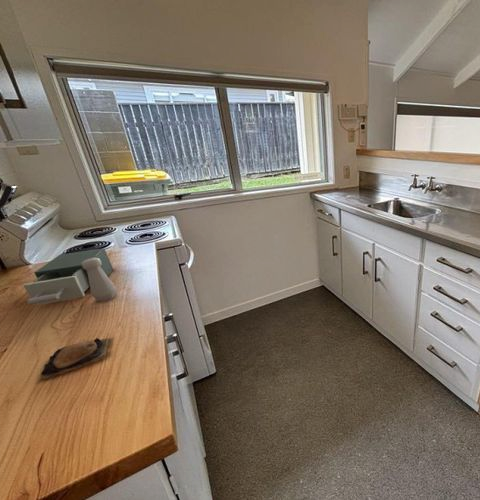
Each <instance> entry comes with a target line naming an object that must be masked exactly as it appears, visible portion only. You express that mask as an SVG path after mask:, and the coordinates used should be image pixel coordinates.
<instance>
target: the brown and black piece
mask: <svg viewBox="0 0 480 500" xmlns="http://www.w3.org/2000/svg"><path fill="white" fill-rule="evenodd" d="M108 345H109V338H102V339H100V338H99V337H96V338H94V340H93V339H90V340H89V339H88V340H83V341H78V342H75V343H72V344H70V345H66V346H63V347H61V348H58V349H57V350H55V351H54V352H53V354H52V355H51V356H49V360H48V362H47V363H46V364H44V367H43V370H42V371H41V372H40V375H41V377H40V378H41V380H42V381H43V380H47V379H50V378H54V377H56V376H59V375H63V374H65V373H68V372H69V371H73V370H76V369H77V370H78V369H80V368H83V367H84V366H88V365H90V364H92V363H94V362H97V361H101V360H104V359H105V358H106V356H107V355H106V354H107V350H108Z"/></svg>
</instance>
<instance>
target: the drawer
mask: <svg viewBox="0 0 480 500" xmlns="http://www.w3.org/2000/svg"><path fill="white" fill-rule="evenodd" d="M89 286H90V284H89V278H88V275H87V273H86V271H85V269H83V268H77V269H70V270H64V271H58V272H51V273H45V274H43V275H41V276H40V277H39V278H37V277H36V279H35V280H33V282H27V283H25V284H23V287H24V289H25V291H26V293H27V295H28V296H29V298H28V299H27V303H28V304H29V305H34V306H35V307H37V306H43V305H47V304H52V303H53V304H54V303H58V302H63V301H64V302H65V301H69V300H74V299H80V298H84V297H85V296H86V293H85V292H86V291H88V290H87V289H88V287H89Z"/></svg>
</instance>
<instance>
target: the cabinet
mask: <svg viewBox="0 0 480 500" xmlns="http://www.w3.org/2000/svg"><path fill="white" fill-rule="evenodd" d="M90 258H99V259H100V260H101V263H102V265H101V266H100V267H101V268H102V269H103V271H104V272H105V274H106V275H107V276H108V277H109V275H110V274H111V273H112V272H113V271H114V268H113V265H112V263H111V260H110V258H109V255H108V253H107V251H106V248H105V247H102V248H95V249H88V250H83V251H75V252H74V251H73V252H68V253H62V254H59V255H57V256H56V257H54V258H53V259H51V260H50V261H49V262H47V263H46V264H45V265H43V266H41V267H40V268H38V269H37V270H36V271H34V275H35V277H36V279H37V278H39V277H40V276H41V275H43V274H45V273H51V272H58V271H64V270H70V269H77V268H83V267H82V264H81V263H82V262H83V261H84V260H87V259H90ZM85 271H86V273H87V270H86V269H85ZM87 275H88V273H87ZM86 291H91V289H90V286H89V287H88V289H87V290H86Z"/></svg>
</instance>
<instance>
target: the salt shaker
mask: <svg viewBox="0 0 480 500" xmlns="http://www.w3.org/2000/svg"><path fill="white" fill-rule="evenodd" d="M81 264H82V267H83V269H86V270H87V273H88V278H89V284H90V293H91V296H92V298H93V299H95V300H96V301H98V302H106V301H109V300H112V299H113V298H114V297H116V293H117V288H116V286H115V284H114V283H113V282H112V281H111V279H110V277H109V275H108V276H107V275H106V274H105V272H104V271H103V269H102V268H101V267H100V266H101V265H102V263H101V260H100V259H99V258H90V259H87V260H84V261H83V262H82V263H81Z"/></svg>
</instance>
